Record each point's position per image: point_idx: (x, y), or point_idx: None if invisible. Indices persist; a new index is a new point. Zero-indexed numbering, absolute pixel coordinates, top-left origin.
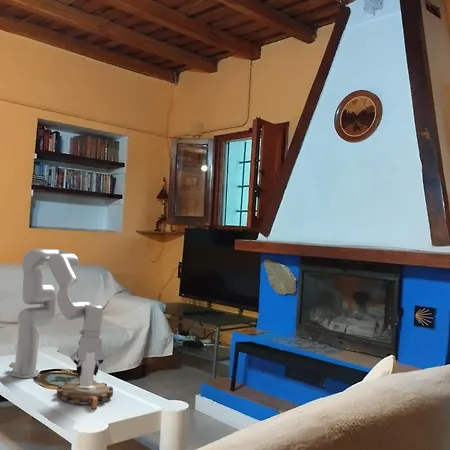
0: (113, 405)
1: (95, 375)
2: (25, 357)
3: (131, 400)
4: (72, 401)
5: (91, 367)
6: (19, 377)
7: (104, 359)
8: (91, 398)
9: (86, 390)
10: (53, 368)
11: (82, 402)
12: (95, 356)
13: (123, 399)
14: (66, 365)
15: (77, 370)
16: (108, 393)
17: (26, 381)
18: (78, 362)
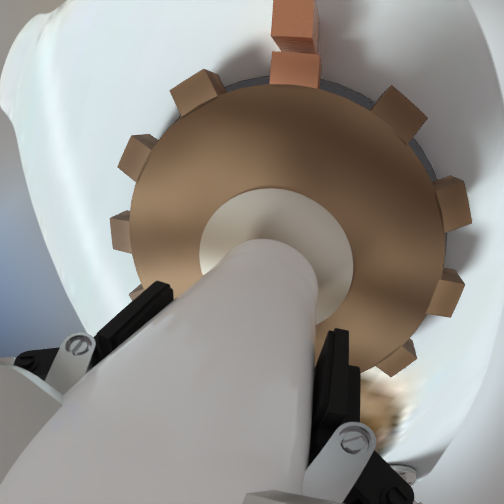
0: (175, 53)
1: (166, 284)
2: None
3: (83, 118)
4: (415, 144)
5: (169, 330)
6: (410, 468)
7: (1, 362)
8: (313, 29)
9: (285, 219)
10: None
11: (359, 99)
12: (10, 447)
13: (105, 136)
14: None
15: (356, 388)
16: (151, 145)
17: (411, 450)
18: (351, 482)
